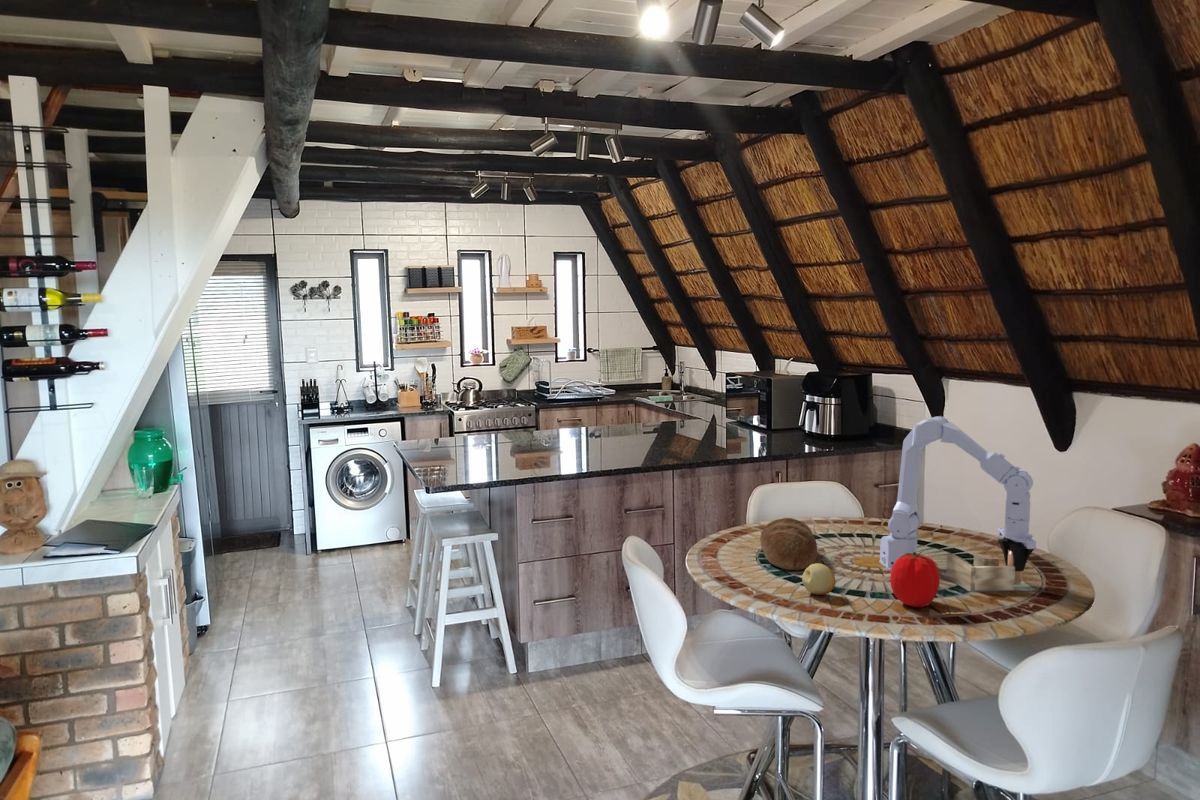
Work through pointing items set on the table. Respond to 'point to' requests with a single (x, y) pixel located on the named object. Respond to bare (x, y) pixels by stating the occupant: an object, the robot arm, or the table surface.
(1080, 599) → the table surface
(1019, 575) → the peg
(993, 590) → the board
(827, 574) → the fruit
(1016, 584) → the pad
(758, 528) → the table surface
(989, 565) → the tan piece
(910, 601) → the tomato
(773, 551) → the bread
